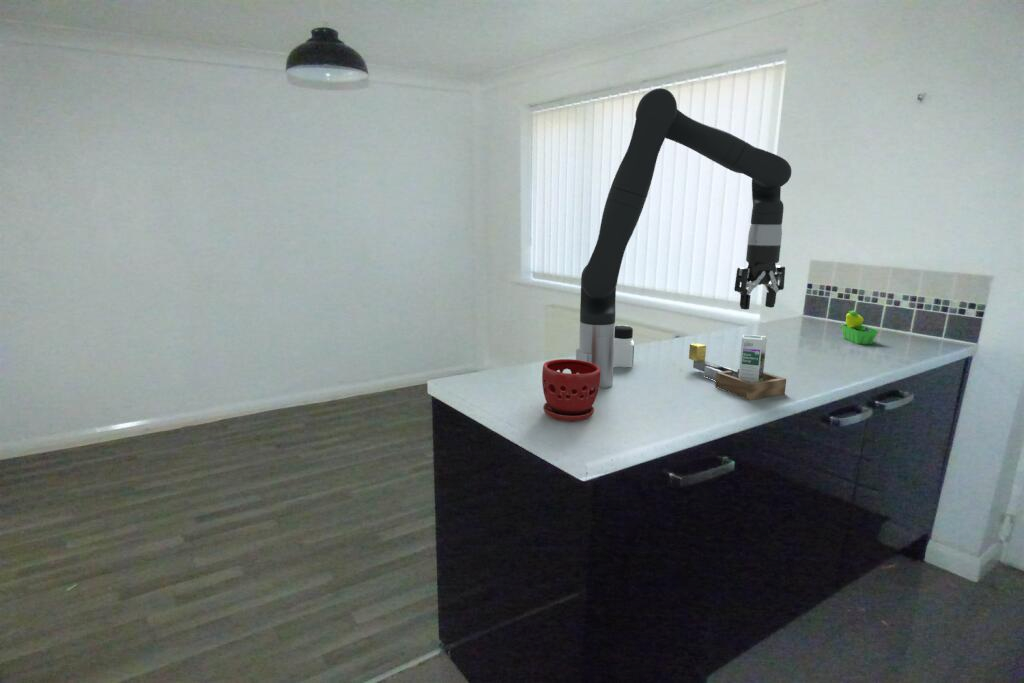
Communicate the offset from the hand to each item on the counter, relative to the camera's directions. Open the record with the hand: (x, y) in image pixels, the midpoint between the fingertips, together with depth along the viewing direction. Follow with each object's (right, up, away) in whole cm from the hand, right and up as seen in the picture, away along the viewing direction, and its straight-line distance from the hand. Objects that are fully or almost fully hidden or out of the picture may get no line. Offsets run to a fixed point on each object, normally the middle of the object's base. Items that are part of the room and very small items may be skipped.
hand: (757, 308), depth 140 cm
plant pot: (-49, -26, -13) cm, 57 cm away
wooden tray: (0, -21, +5) cm, 22 cm away
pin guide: (-4, -19, +14) cm, 24 cm away
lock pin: (-7, -17, +19) cm, 26 cm away
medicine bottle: (-29, -16, +30) cm, 44 cm away
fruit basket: (+63, -9, +60) cm, 87 cm away
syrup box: (0, -21, +5) cm, 22 cm away
